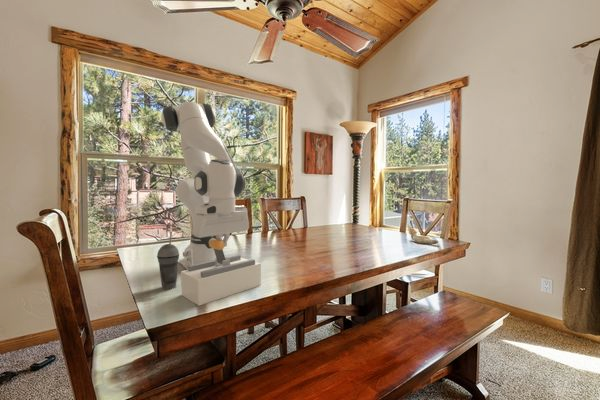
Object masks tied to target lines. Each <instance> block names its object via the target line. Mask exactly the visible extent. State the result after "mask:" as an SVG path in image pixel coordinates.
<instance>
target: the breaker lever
mask: <svg viewBox="0 0 600 400" xmlns="http://www.w3.org/2000/svg"><path fill="white" fill-rule="evenodd" d="M209 246H210V247H211V248H213V249H214V252H215V255H216V258H217V261H218V263H219V264H222V261H223V260H226V259H225V258H226V257H225V252H224V250H223V249H224V248H225V247H224V246H225V245H224V242H223V241H219V240H215V239H212V240H210V242H209Z"/></svg>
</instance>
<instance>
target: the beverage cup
mask: <svg viewBox="0 0 600 400" xmlns="http://www.w3.org/2000/svg"><path fill="white" fill-rule="evenodd" d="M172 232H173V231H170V233H169V235H170V236H169V243H167V244H163V245H161V247H159V249H158V251H157V255H156V258H157V263H158V268H159V273H160V274H159V275H160V282H161V283H160V284H161V289H162V288H163V290H164V289H169V290H173V289H176V288H177V282H178V281H177V279H178V267H179V266H178V265H179V260H180V259H179V258H180V252H179V249H178V246H177V247H176V246H175V245H174V244H172V234H173V233H172ZM172 288H173V289H172Z"/></svg>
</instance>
